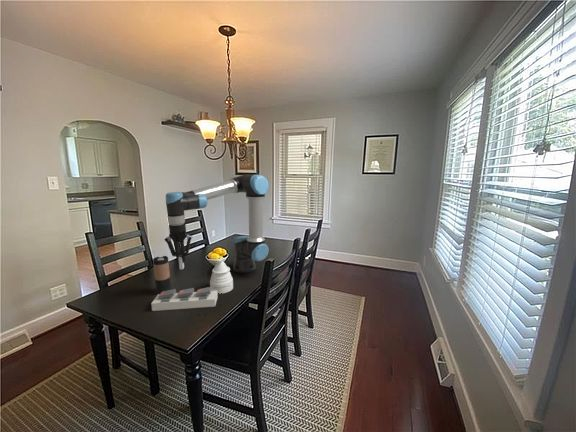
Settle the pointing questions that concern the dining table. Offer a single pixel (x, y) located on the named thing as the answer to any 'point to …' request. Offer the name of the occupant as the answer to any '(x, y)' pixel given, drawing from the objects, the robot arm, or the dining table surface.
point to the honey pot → (221, 278)
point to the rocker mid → (185, 292)
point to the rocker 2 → (203, 291)
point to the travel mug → (161, 274)
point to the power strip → (185, 302)
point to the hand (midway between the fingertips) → (182, 268)
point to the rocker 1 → (167, 294)
